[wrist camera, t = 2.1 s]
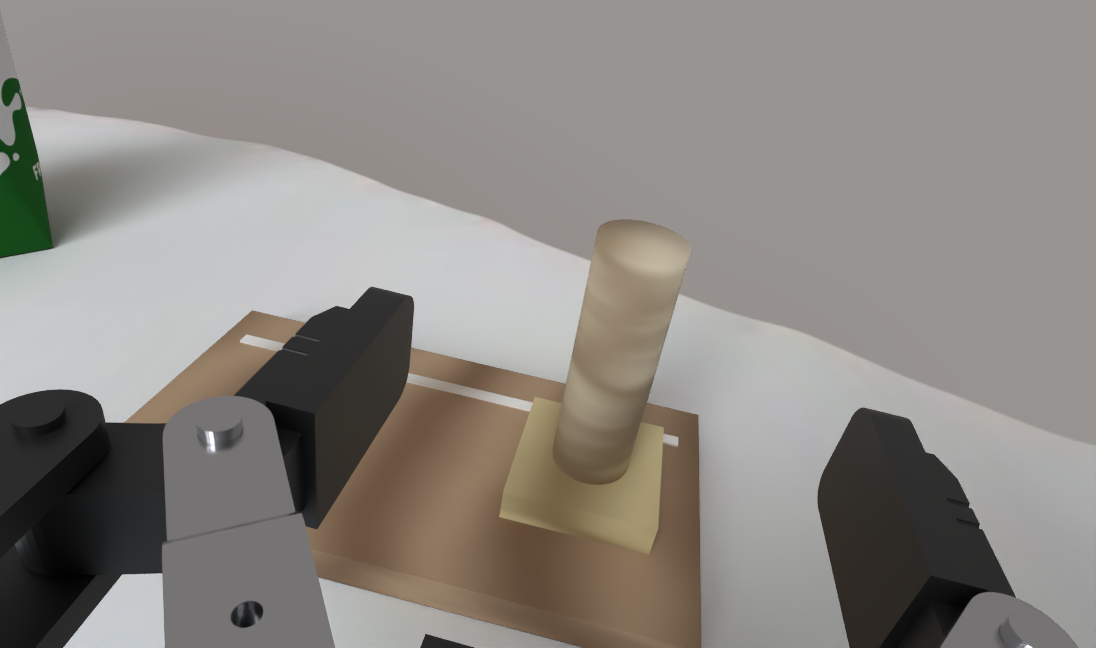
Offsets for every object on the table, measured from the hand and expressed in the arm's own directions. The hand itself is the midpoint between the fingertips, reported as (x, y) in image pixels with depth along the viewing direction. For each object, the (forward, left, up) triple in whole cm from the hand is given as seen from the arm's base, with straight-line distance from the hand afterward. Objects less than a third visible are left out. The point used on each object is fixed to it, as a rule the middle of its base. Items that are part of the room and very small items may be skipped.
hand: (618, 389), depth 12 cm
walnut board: (+7, -11, -15) cm, 20 cm away
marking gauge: (0, -11, -13) cm, 18 cm away
